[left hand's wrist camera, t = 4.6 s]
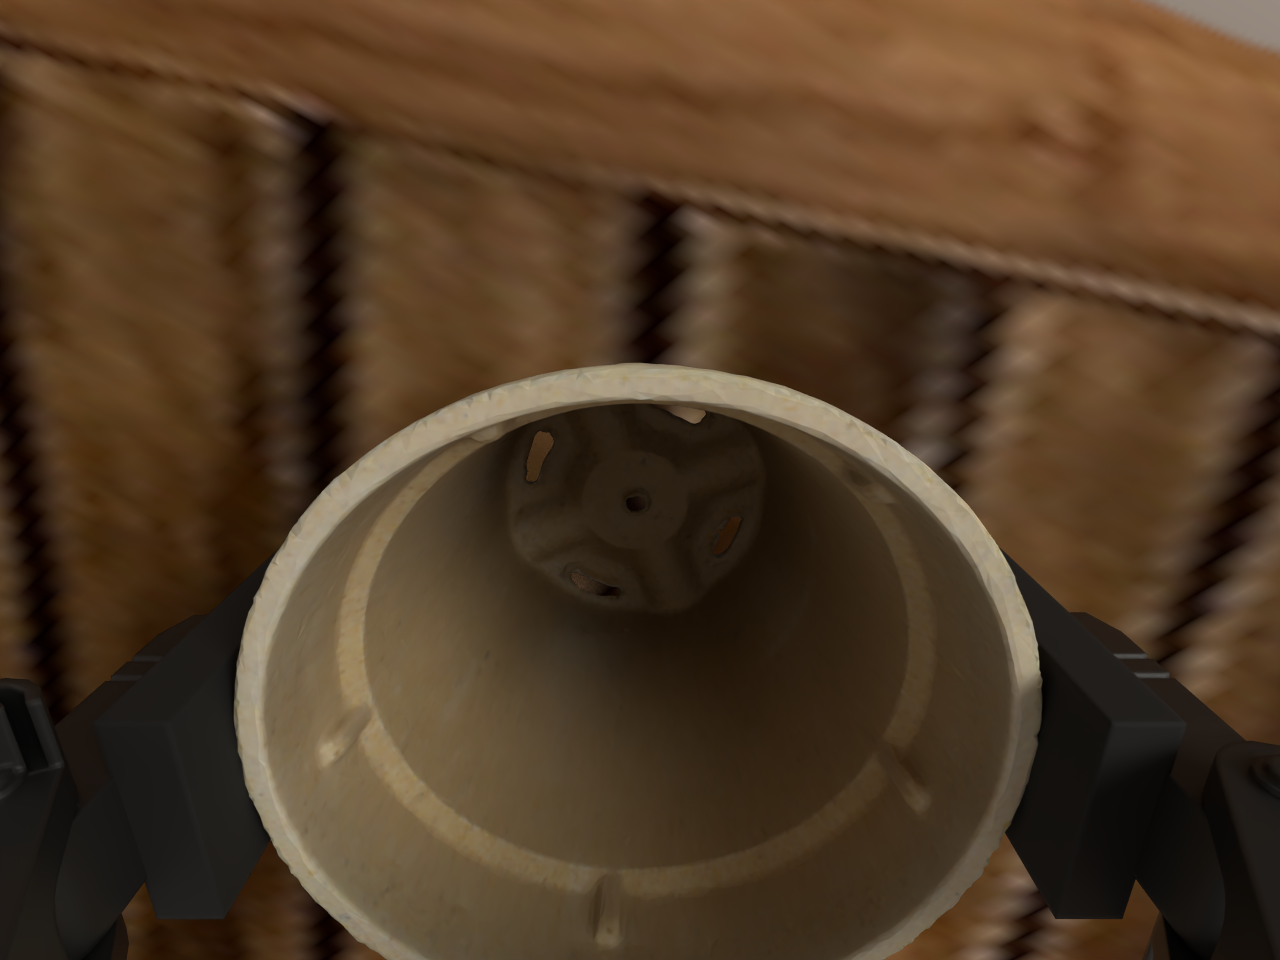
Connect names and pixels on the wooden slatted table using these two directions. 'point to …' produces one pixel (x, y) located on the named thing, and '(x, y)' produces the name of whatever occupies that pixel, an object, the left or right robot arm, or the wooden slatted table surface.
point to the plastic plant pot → (637, 681)
